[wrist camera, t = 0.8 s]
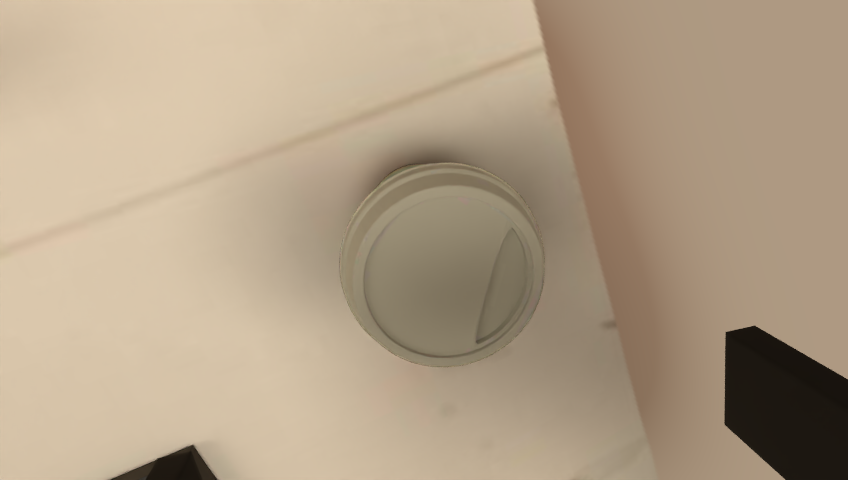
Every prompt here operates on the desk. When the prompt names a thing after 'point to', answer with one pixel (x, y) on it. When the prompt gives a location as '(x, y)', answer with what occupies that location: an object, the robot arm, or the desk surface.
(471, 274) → the coffee cup
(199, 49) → the desk surface
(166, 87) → the desk surface
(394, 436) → the desk surface
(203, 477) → the scale
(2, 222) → the desk surface
